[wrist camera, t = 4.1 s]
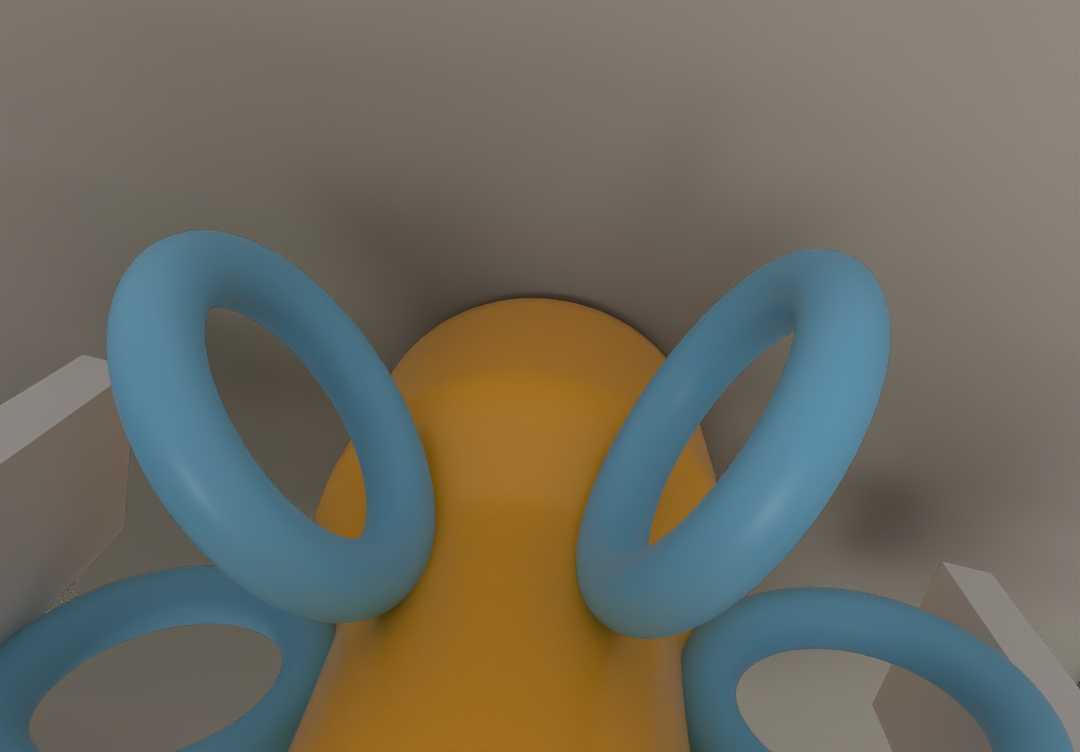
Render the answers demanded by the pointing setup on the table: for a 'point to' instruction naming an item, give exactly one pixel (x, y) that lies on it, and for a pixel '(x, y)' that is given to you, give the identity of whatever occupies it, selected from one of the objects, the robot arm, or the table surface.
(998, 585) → the robot arm
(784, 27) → the table surface
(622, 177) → the table surface
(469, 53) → the table surface
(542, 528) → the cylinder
